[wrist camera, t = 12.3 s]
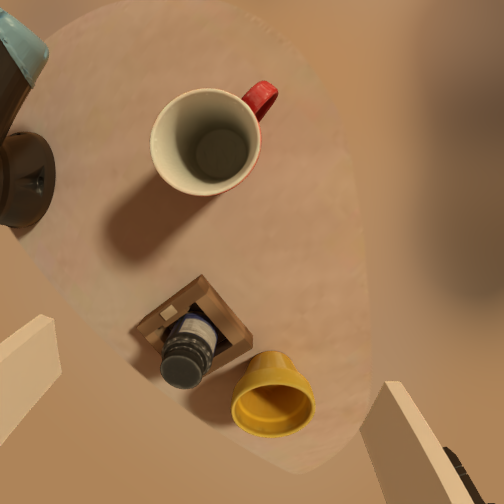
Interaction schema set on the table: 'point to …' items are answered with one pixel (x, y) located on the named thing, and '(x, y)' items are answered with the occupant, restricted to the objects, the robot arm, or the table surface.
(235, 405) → the plant pot
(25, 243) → the table surface
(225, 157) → the mug
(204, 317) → the pill bottle
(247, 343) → the wooden tray
